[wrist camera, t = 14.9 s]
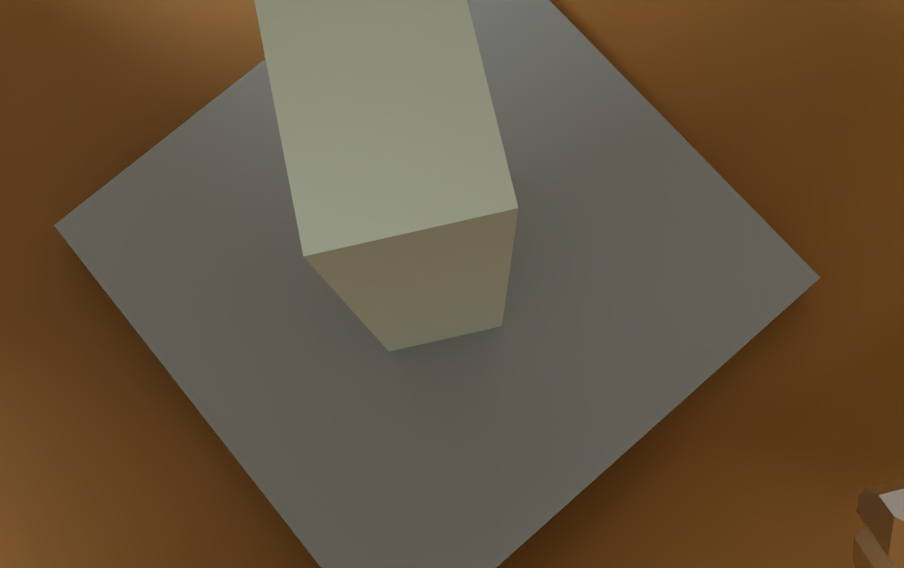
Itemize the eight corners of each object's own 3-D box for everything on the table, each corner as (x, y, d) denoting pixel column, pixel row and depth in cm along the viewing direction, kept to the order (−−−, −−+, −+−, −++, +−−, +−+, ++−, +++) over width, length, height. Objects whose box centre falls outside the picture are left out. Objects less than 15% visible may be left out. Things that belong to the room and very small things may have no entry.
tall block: (388, 351, 19) (303, 256, 10) (352, 179, 19) (244, -53, 11) (502, 326, 19) (517, 207, 10) (461, 154, 19) (443, -98, 11)
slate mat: (74, 236, 20) (53, 225, 19) (459, -69, 22) (458, -94, 21) (398, 649, 18) (393, 660, 17) (803, 286, 20) (820, 277, 19)
